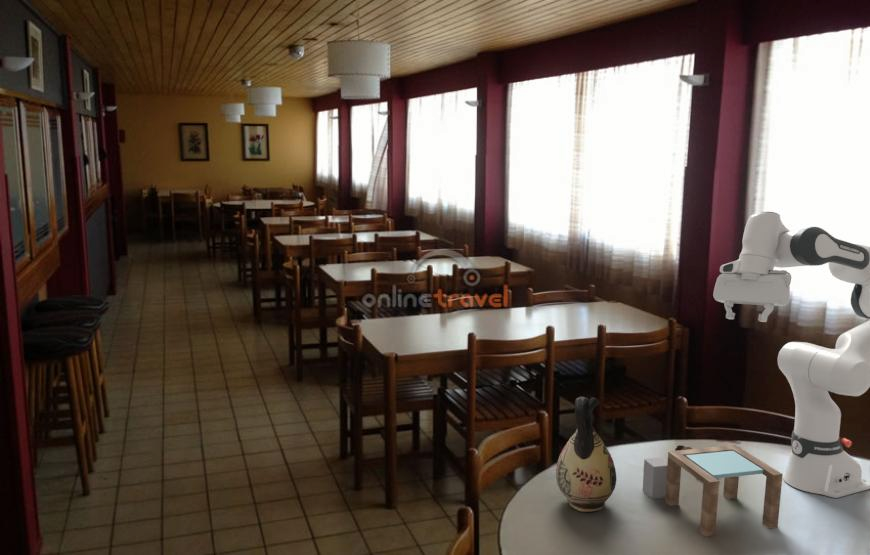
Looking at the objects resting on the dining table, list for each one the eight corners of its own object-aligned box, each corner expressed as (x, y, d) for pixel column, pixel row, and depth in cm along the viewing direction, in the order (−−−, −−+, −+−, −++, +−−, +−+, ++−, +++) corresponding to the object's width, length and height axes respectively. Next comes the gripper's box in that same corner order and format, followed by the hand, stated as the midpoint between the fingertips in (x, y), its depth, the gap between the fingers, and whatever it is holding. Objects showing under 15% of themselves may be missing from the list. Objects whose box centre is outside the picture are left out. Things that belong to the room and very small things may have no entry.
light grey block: (659, 488, 201) (660, 457, 200) (668, 496, 197) (670, 465, 195) (642, 490, 200) (644, 459, 199) (651, 498, 195) (653, 466, 194)
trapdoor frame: (731, 493, 198) (735, 444, 196) (777, 527, 181) (782, 474, 178) (664, 501, 194) (668, 451, 191) (705, 536, 176) (709, 482, 174)
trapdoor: (732, 454, 192) (733, 450, 192) (762, 473, 181) (763, 469, 181) (685, 459, 189) (685, 455, 189) (712, 479, 178) (713, 475, 178)
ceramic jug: (565, 485, 202) (569, 381, 197) (621, 498, 195) (626, 390, 190) (544, 512, 188) (548, 400, 182) (604, 526, 180) (610, 411, 175)
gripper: (798, 273, 189) (789, 325, 187) (728, 272, 206) (719, 320, 204) (785, 267, 185) (776, 320, 184) (715, 266, 202) (705, 314, 201)
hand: (745, 320), depth 194 cm, fingers open, 8 cm apart
